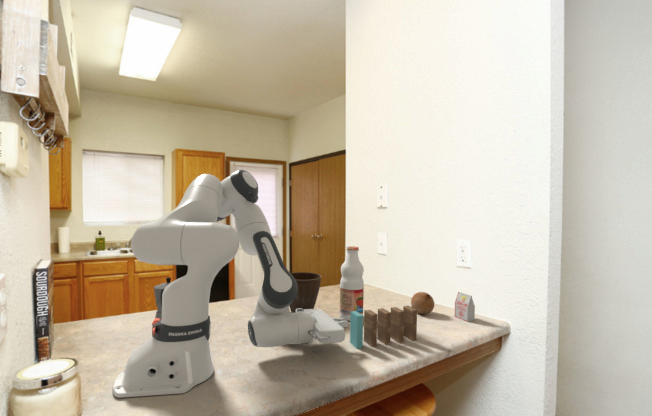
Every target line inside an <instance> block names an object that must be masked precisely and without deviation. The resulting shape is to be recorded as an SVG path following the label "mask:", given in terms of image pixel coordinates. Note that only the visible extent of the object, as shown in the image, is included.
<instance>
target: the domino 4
mask: <svg viewBox="0 0 652 416" xmlns="http://www.w3.org/2000/svg"><path fill="white" fill-rule="evenodd" d="M402 307H403V309H402V310H403V311H404V337H405V338H406V339H408V340H409V341H411V342H413V341H417V340H418V339H417V337H418V336H417V334H418V331H417V330H418V329H417V328H418V327H417V326H418V323H417V322H418V313H417V310H416V309H414V308H412V307H411V306H409V305H404V306H402Z"/></svg>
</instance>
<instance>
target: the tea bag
mask: <svg viewBox="0 0 652 416" xmlns="http://www.w3.org/2000/svg"><path fill="white" fill-rule="evenodd" d="M475 308H476V305H475V303H474V299H473V295H470V294H468V293H463V292H461V291H458V292H457V295H456V298H455V301H454V317H455V318H456V319H460V320H462V321H465V322H467V323H469V322H475V319H476V318H475V317H476V316H475V315H476V313H475V311H476V309H475Z"/></svg>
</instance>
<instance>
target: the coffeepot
mask: <svg viewBox="0 0 652 416" xmlns="http://www.w3.org/2000/svg"><path fill="white" fill-rule="evenodd" d="M165 280H166V282H164V283H160V284H157V285H155V286H154V285H153V293H154V297H155V300H154V301H155V306H156V307H157V311H156V313H155V317H154V319H156V318H159V319H160V320H162V294H163V291H164V289H165V288H166V286H167V285H168V284H170V283H171V282H172V278H171V277H168V276H167V277H166V278H165Z"/></svg>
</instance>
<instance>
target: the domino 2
mask: <svg viewBox="0 0 652 416" xmlns="http://www.w3.org/2000/svg"><path fill="white" fill-rule="evenodd" d="M391 339H392V338H391V311H389V310H387V309H385V308H377V341H379V342H380V343H382V344H383V345H391Z"/></svg>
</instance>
